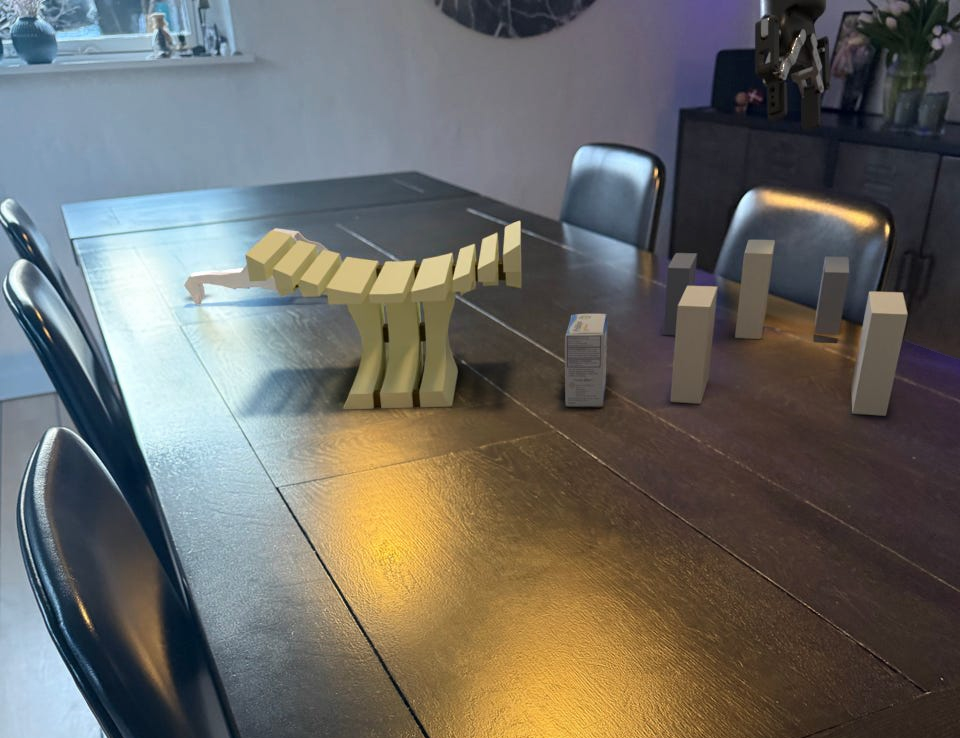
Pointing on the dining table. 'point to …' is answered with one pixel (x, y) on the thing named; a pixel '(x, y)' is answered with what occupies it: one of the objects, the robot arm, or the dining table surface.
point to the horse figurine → (236, 275)
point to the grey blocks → (827, 307)
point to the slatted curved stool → (392, 309)
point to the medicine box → (585, 360)
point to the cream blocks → (871, 364)
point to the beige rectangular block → (754, 288)
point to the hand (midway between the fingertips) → (794, 124)
